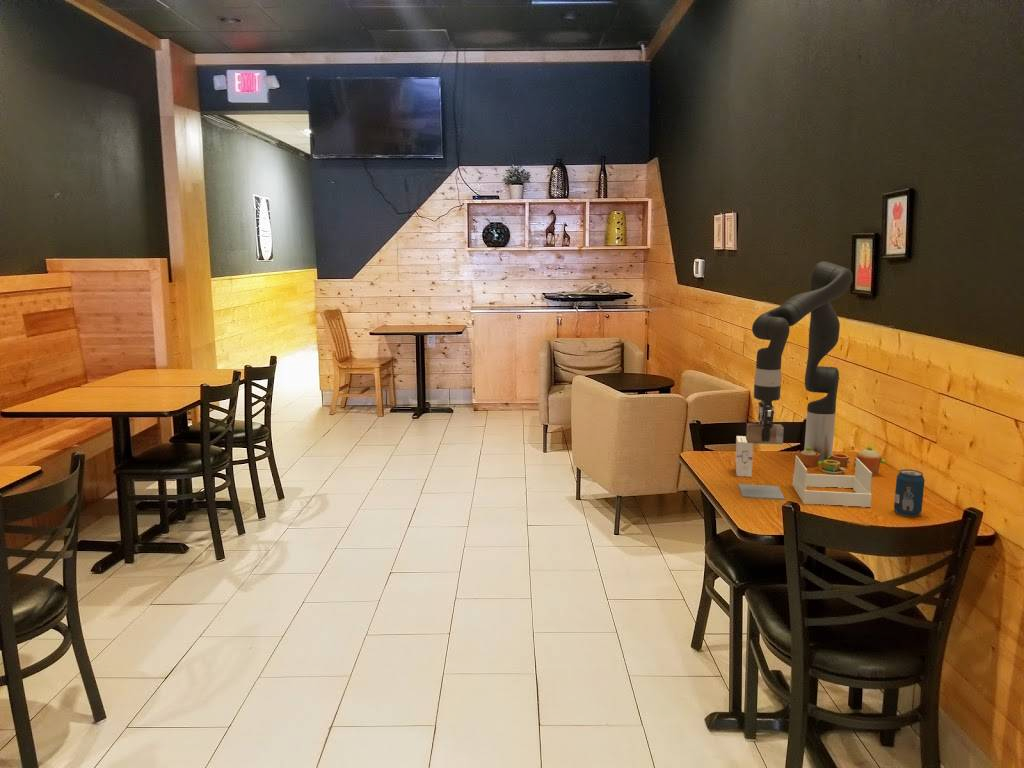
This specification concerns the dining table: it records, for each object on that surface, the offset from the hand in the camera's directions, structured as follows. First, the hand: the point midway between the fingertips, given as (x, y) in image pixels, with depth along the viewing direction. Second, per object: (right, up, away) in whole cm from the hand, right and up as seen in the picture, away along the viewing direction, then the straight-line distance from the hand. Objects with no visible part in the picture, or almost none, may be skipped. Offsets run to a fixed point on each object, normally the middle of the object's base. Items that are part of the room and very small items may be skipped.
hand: (764, 438), depth 227 cm
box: (0, -1, 0) cm, 1 cm away
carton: (+20, -17, -1) cm, 26 cm away
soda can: (+35, -20, -15) cm, 43 cm away
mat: (0, -17, +3) cm, 17 cm away
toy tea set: (+35, -13, +28) cm, 47 cm away
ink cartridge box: (+1, -13, +23) cm, 27 cm away
